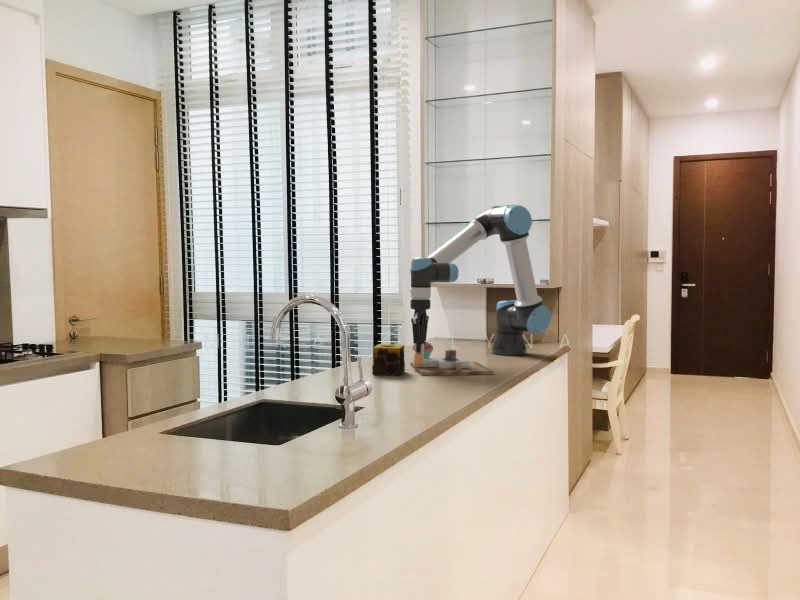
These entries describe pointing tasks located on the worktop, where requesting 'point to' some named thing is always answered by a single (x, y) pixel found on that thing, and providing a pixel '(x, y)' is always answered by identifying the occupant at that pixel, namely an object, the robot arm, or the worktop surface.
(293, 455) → the worktop surface
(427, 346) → the cupcake
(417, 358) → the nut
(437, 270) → the robot arm
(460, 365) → the dowel
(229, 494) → the worktop surface
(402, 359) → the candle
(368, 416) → the worktop surface
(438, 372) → the base board
